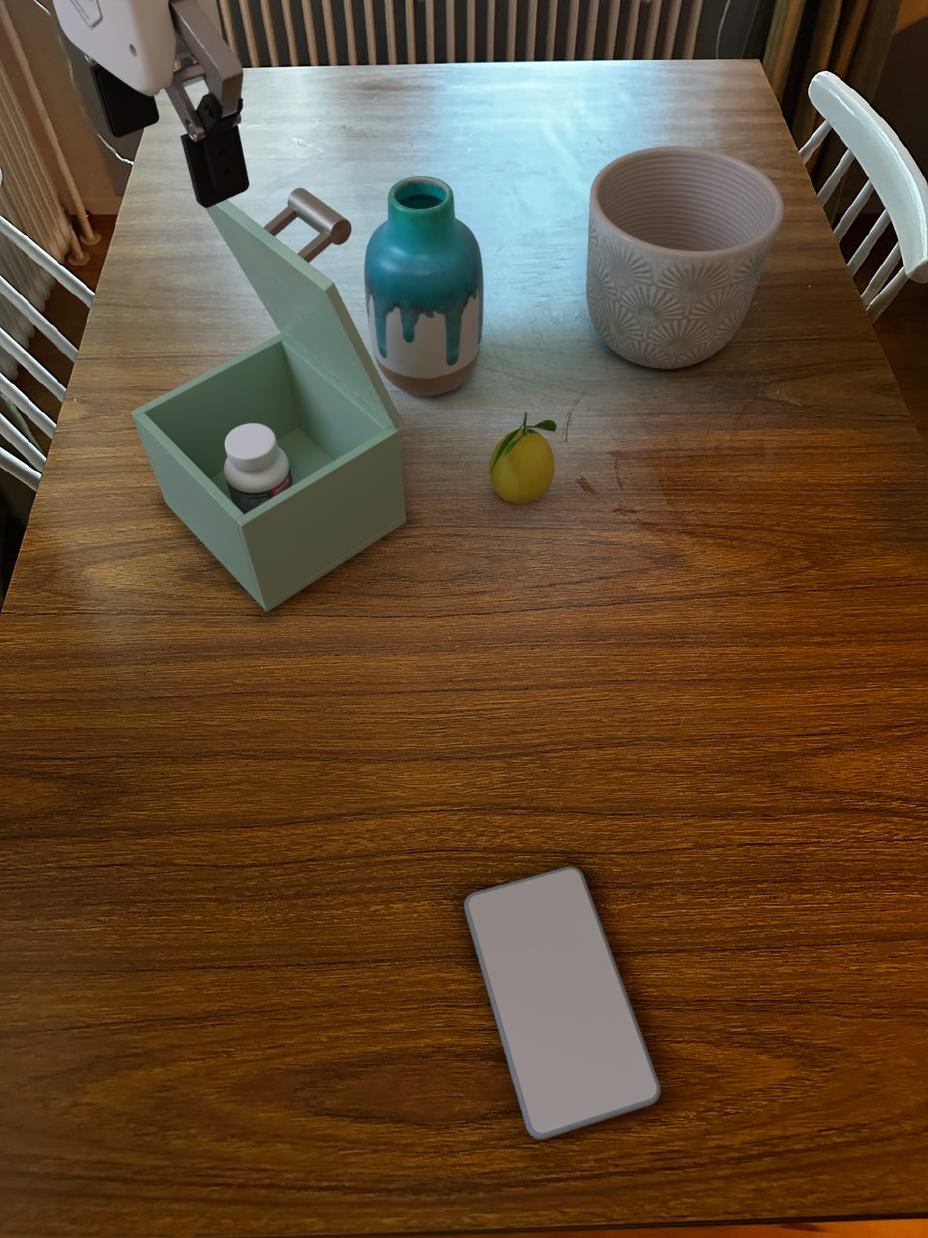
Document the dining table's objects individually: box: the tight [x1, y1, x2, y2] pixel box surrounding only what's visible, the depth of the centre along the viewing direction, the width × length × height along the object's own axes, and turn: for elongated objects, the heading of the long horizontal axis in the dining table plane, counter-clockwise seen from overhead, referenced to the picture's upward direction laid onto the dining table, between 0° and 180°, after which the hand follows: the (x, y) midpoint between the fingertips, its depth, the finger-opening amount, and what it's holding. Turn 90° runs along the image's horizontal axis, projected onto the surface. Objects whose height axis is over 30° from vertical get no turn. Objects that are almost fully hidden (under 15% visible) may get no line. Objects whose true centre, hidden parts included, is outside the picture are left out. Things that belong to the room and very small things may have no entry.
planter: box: [585, 145, 785, 370], centre depth 90 cm, size 17×17×15 cm
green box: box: [130, 332, 407, 613], centre depth 79 cm, size 15×16×11 cm
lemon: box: [489, 411, 558, 505], centre depth 80 cm, size 7×6×10 cm
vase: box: [363, 175, 485, 396], centre depth 85 cm, size 11×11×19 cm
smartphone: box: [463, 866, 661, 1141], centre depth 60 cm, size 8×1×15 cm
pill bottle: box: [224, 423, 294, 515], centre depth 78 cm, size 5×5×9 cm
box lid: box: [191, 184, 403, 429], centre depth 70 cm, size 15×16×6 cm
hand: (178, 161), depth 56 cm, fingers open, 9 cm apart
